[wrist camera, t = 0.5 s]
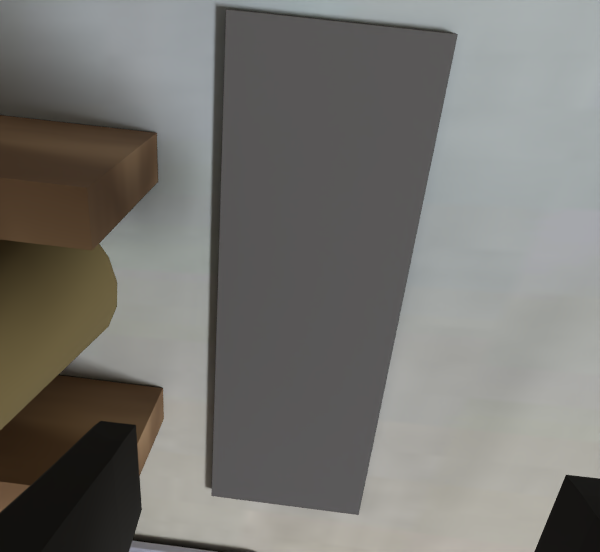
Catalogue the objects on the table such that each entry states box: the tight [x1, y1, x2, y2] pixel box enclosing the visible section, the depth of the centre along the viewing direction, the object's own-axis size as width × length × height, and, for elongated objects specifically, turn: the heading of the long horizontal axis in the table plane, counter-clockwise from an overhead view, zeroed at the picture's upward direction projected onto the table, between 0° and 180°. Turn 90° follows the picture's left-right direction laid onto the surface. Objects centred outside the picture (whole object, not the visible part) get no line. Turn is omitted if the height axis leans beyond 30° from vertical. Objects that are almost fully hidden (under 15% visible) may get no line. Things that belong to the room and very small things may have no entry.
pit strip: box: [212, 9, 458, 515], centre depth 19 cm, size 18×6×1 cm, turn 175°
